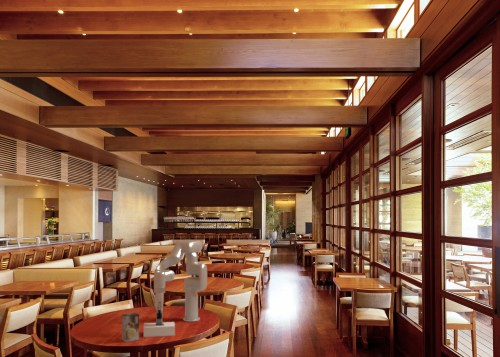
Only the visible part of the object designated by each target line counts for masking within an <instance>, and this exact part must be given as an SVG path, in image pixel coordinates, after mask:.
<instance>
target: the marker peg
mask: <svg viewBox="0 0 500 357" xmlns="http://www.w3.org/2000/svg"><path fill="white" fill-rule="evenodd" d="M158 308H159V307H158ZM163 308H164V307H163ZM163 308H162V311H163ZM155 309H156V311H155V312H156V313H155V314H156V315H155V316H156V318H155V319H156V320H155V323H156V325H162V323H163V318H162V319H157V308H155Z"/></svg>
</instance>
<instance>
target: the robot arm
mask: <svg viewBox="0 0 500 357" xmlns="http://www.w3.org/2000/svg"><path fill="white" fill-rule="evenodd" d="M202 249H203V242H202V241H201V240H199V239H197V240H196V239H183V240H178V241H177V242H176V243H175V244H174V246H173V248H172V250H171V252H170V254H169V256H167V257H166V258H164V259H162V260H161V261H160V262H159V263H158V265H157V266H156V268H155V270H154V273H153V293H154V294H155V295H154V308H155V309H156V308H157V319H162V320H163V310H162V308H164V294H165V293H166V283H167V282H172V281H173V280H174V279H175V277H176V273H175V272H174V270H171V269H168V268H169V267H172V266H175V265H178V264H179V263H181V260H182V258H183V256H184V255H185V258H186V259H185V260H186V261H185V262H186V263H185V270H186V271H185V272H186V274H187V275H189V276H188V277H186V278H184V282H183V286H184V298H185V299H184V310H185V311H184V317H182V321H184V322H188V323H189V322H190V323H191V322H197V321H198V322H199V321H200V320H201V317H200V316H199V295H198V292H197V291H205V290H206V289H207V287H208V266H207V264H206V263H204V262H198V260H199V259H198V254H197V253H200V252H201V251H202ZM197 276H198V277H197ZM158 307H159V308H158Z"/></svg>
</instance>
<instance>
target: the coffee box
mask: <svg viewBox="0 0 500 357" xmlns="http://www.w3.org/2000/svg"><path fill="white" fill-rule="evenodd" d="M121 340H122V341H123V342H125V343H128V342H129V343H130V342H133V341H139V340H140V314H139V313H137V312H129V313H125V314H123V313H122V315H121Z"/></svg>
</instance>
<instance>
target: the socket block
mask: <svg viewBox="0 0 500 357" xmlns="http://www.w3.org/2000/svg"><path fill="white" fill-rule="evenodd" d="M172 336H173V337H175V336H176V323H175V321H166V322H165V321H162V325H156V322H144V323H143V338H154V337H156V338H158V337H172Z"/></svg>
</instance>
